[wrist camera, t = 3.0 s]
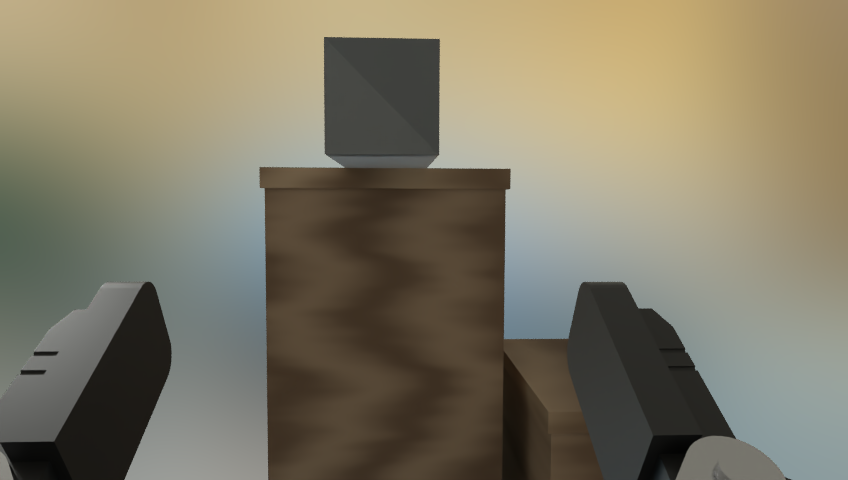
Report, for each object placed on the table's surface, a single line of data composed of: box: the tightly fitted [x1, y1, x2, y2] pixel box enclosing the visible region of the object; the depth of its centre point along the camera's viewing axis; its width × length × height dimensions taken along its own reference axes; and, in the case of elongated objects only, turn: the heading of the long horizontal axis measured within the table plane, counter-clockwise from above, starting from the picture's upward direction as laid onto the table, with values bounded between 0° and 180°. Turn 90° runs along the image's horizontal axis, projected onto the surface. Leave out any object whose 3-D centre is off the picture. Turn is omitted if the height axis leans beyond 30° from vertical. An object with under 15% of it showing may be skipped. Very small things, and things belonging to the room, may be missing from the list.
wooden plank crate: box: [260, 167, 604, 480], centre depth 37 cm, size 21×18×32 cm
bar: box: [324, 37, 440, 168], centre depth 33 cm, size 4×24×4 cm, turn 3°
